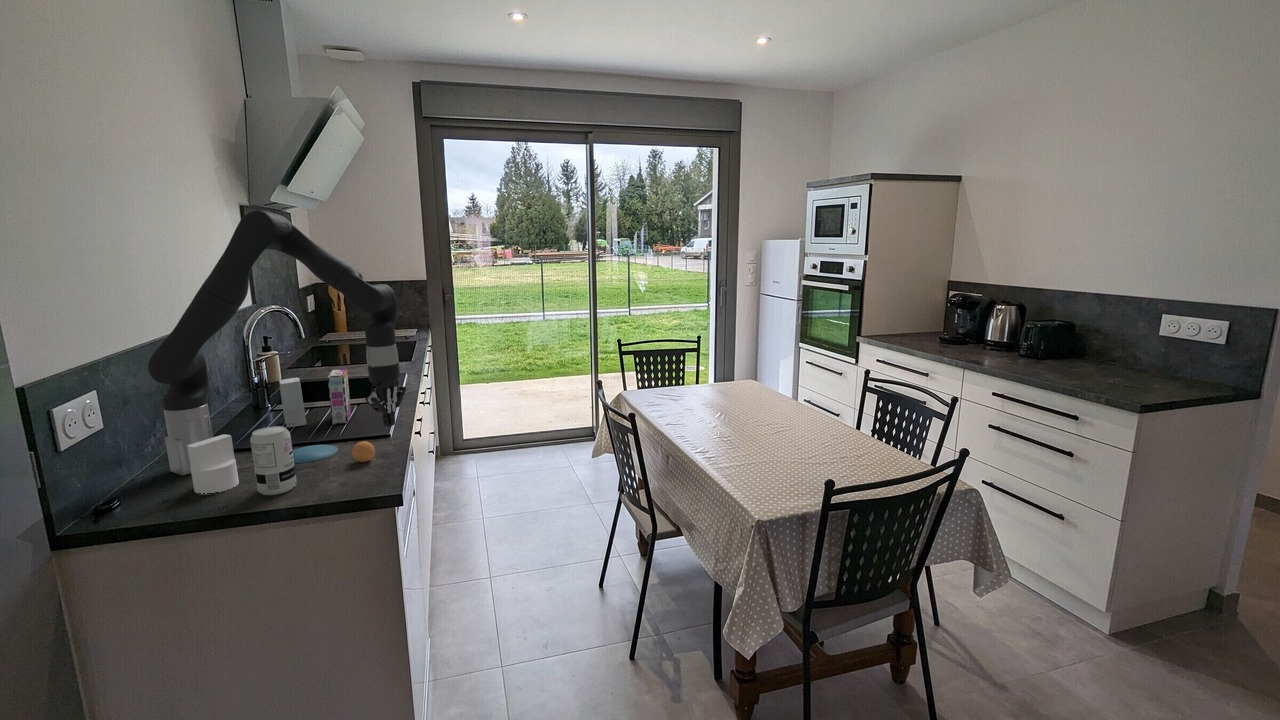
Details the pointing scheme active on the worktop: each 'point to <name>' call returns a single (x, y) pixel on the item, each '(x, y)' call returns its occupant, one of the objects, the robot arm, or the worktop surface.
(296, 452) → the disc
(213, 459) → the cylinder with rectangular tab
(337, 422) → the candy bar box
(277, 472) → the supplement can
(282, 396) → the skincare box
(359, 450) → the ball
